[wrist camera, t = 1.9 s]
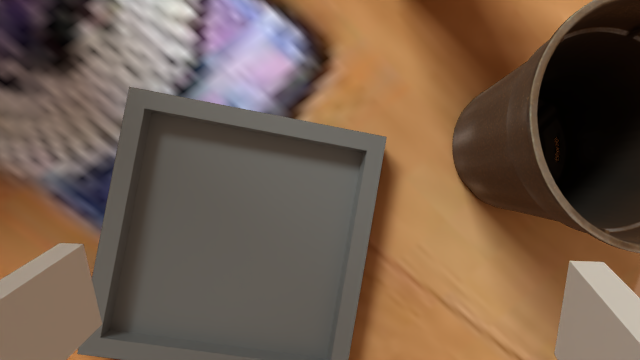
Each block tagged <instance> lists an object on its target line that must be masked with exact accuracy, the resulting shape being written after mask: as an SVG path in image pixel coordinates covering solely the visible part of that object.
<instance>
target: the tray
mask: <svg viewBox="0 0 640 360" xmlns="http://www.w3.org/2000/svg"><path fill="white" fill-rule="evenodd" d="M385 143H386V137H384V136H379V135H374V134H369V133H364V132H359V131H353V130H348V129H343V128H338V127H333V126H328V125H323V124H317V123H312V122H307V121H302V120H297V119H292V118H287V117H282V116H276V115H271V114H266V113H261V112H256V111H251V110H246V109H240V108H235V107H230V106H225V105H220V104H215V103H210V102H204V101H199V100H194V99H189V98H184V97H179V96H174V95H168V94H163V93H158V92H153V91H148V90H143V89H138V88H132V87H129V91H128V96H127V102H126V107H125V112H124V117H123V122H122V127H121V132H120V137H119V143H118V148H117V153H116V158H115V163H114V168H113V173H112V179H111V184H110V189H109V194H108V199H107V204H106V209H105V215H104V220H103V225H102V230H101V235H100V240H99V245H98V251H97V256H96V261H95V266H94V271H93V276H92V283H93V287H94V291H95V296H96V300H97V304H98V308H99V313H100V317H101V321H102V325H101V326H100V327H99V328H98V329H97V330H96V331H95V332H94V333H93V334H92V335H91V336H90V337H89V338H88V339H87V340H86V341H85V342H84V343H83V344H82V345H81V346H80V347H79V348H78V353H77V354H81V355H89V356H97V357H105V358H113V359H120V360H348V359H349V353H350V348H351V342H352V336H353V330H354V324H355V318H356V313H357V307H358V301H359V295H360V289H361V283H362V278H363V272H364V266H365V260H366V254H367V248H368V243H369V237H370V231H371V225H372V219H373V213H374V208H375V202H376V196H377V190H378V184H379V178H380V172H381V167H382V161H383V155H384V149H385Z"/></svg>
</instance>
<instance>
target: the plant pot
mask: <svg viewBox="0 0 640 360" xmlns="http://www.w3.org/2000/svg"><path fill="white" fill-rule="evenodd" d="M556 137H559V139H560V159H559V162H556V159H555V152H556V146H555V141H554V139H555V138H556ZM453 158H454V163H455V166H456V169H457V172H458V174H459V176H460V178H461V180H462V181H463V182H464V183H465V184H466V185H467V186H468V187H469V188H470V190H471V191H472V192H473V193H474V194H475V195H476V197H478V198H479V199H480V200H482V201H484V202H485V203H487V204H489V205H492V206H494V207H498V208H503V209H508V210H512V211H517V212H522V213H526V214H530V215H534V216H539V217H543V218H547V219H551V220H555V221H559V222H561V223H563V224H565V225H567V226H569V227H571V228H573V229H576V230H579V231H582V232H585V233H588V234H590V235H591V236H593V237H595V238H597V239H598V240H600V241H602V242H604V243H607V244H609V245H611V246H614V247H617V248H620V249H624V250H627V251H631V252H636V253H640V0H593V1H592V2H590V3H588V4H587V5H585V6H584V7H582V8H581V9H580V10H578V11H577V12H575V13H574V14H573V15H572V16H571V17H569V18H568V19H567V20H566V21H565V22H564V23H563V24H562V25H561V26H560V27H559V28H558V30H557V31H556V32H555V33H554V34H553V36H552V37H551V39H550V40H549V41H547V42H546V43H545V44H544V45H542V46H541V47H540V48H539V49H538V50H537V51H536V52H535V53H534V54H533V55H532V56H531V58H530V59H529V60H528V61H527V62H526V63H524V64H523V65H521V66H520V67H518V68H517V69H516V70H514V71H513V72H511V73H510V74H509V75H507V76H506V77H504V78H503V79H501V80H500V81H498V82H497V83H496V84H494V85H493V86H491V87H490V88H488V89H487V90H486V91H484V92H482V93H481V94H479V95H478V96H477V97H475V98H474V99H473V100H472V101H471V102H470V103H469V105H468V106H467V107H466V108H465V109H464V110H463V112H462V113H461V115H460V117H459V119H458V121H457V124H456V127H455V130H454V135H453Z"/></svg>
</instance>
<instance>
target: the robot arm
mask: <svg viewBox="0 0 640 360" xmlns="http://www.w3.org/2000/svg"><path fill="white" fill-rule="evenodd" d="M101 325H102V321H101V317H100V313H99V308H98V304H97V300H96V296H95V291H94V287H93V283H92V278H91V274H90V270H89V266H88V261H87V257H86V253H85V249H84V244H71V243H59V244H58V245H56V246H54V247H53V248H51V249H49V250H48V251H46V252H45V253H43V254H41V255H40V256H38V257H37V258H35V259H33V260H32V261H30V262H28V263H27V264H25V265H24V266H22V267H20V268H19V269H17V270H15V271H14V272H12V273H11V274H9V275H7V276H6V277H4V278H2V279H1V280H0V360H67V359H68V358H69V357H70V356H71V355H72V354H73V353H74V352H75V351H76V350H77V349H78V348H79V347H80V346H81V345H82V344H83V343H84V342H85V341H86V340H87V339H88V338H89V337H90V336H91V335H92V334H93V333H94V332H95V331H96V330H97V329H98V328H99V327H100V326H101ZM554 354H555V356H556V358H557V360H640V298H639V297H638V296H637V295H636V294H635V293H634V292H633V291H632V290H631V289H630V288H629V287H628V286H627V285H626V284H625V283H624V282H623V281H622V280H621V279H620V278H619V277H618V276H617V275H616V274H615V273H614V272H613V271H612V270H611V269H610V268H609V267H608V266H607V265H606V264H605V263H604V262H590V261H569V267H568V273H567V279H566V285H565V291H564V297H563V304H562V310H561V316H560V322H559V328H558V334H557V340H556V347H555V353H554Z"/></svg>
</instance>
